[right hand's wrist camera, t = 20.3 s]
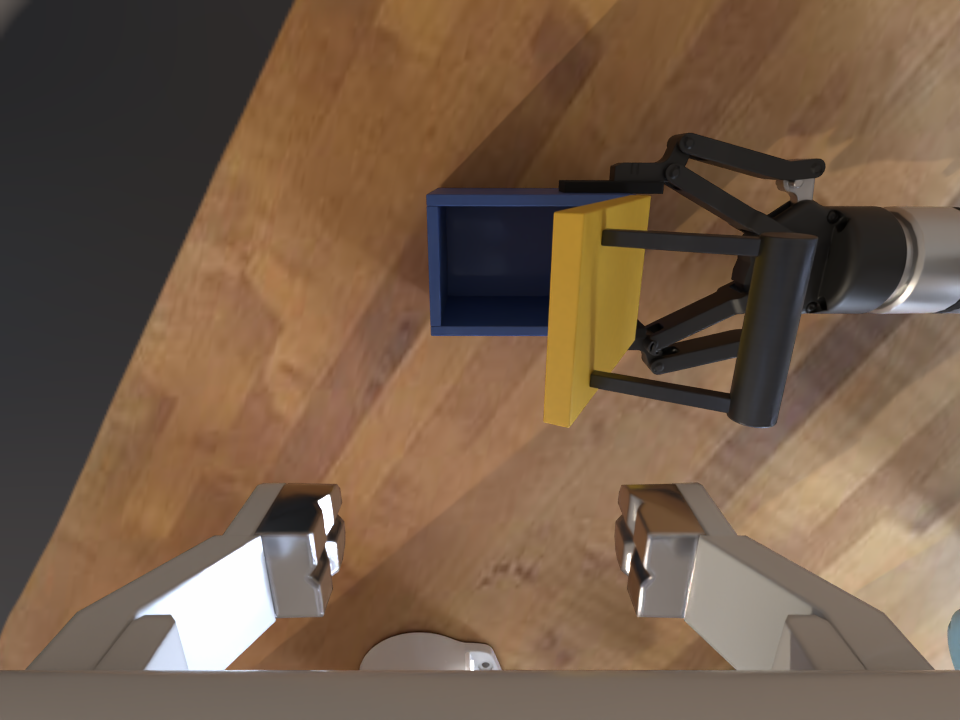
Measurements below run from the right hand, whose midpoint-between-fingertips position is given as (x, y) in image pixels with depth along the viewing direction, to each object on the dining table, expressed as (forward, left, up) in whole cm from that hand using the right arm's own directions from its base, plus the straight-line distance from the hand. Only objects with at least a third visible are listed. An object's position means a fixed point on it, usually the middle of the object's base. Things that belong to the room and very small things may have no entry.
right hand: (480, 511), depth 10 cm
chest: (-2, -3, -35) cm, 35 cm away
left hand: (-3, -5, -29) cm, 29 cm away
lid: (-3, -5, -19) cm, 20 cm away
